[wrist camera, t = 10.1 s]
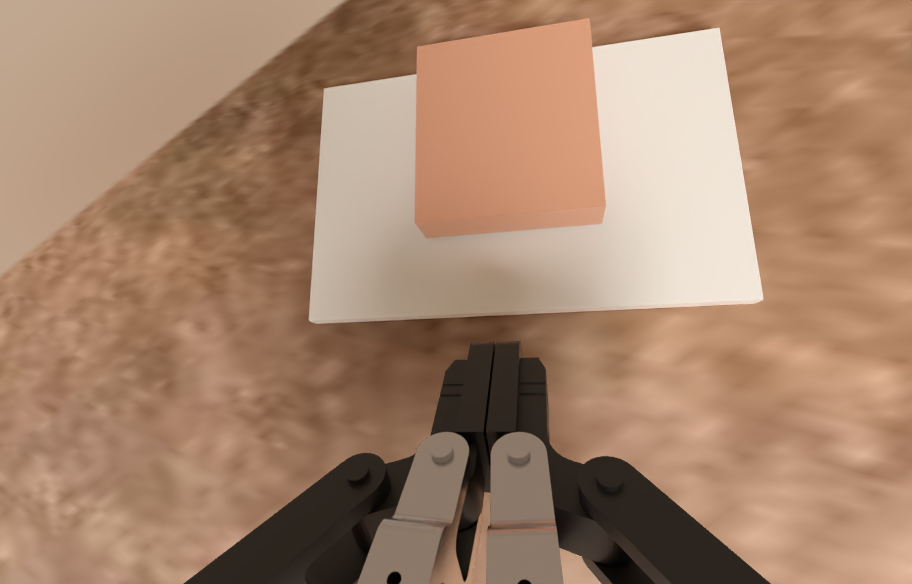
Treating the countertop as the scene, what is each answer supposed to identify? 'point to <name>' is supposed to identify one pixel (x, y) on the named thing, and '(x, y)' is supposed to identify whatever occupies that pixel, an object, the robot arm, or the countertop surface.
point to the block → (508, 133)
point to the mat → (552, 249)
